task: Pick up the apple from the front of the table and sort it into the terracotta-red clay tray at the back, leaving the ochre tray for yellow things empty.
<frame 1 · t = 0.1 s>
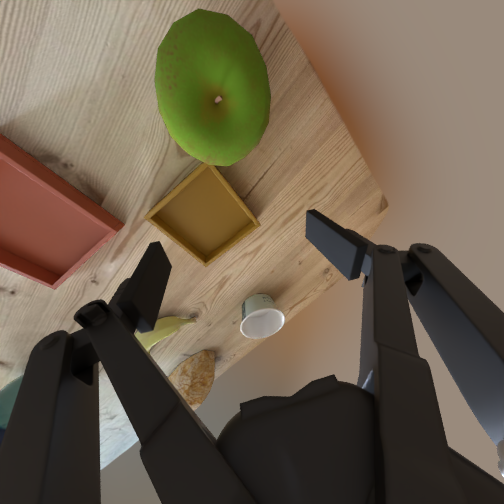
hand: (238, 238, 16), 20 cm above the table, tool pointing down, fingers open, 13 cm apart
food container: (257, 304, 52), on the table
apple: (214, 112, 27), on the table
banana: (164, 330, 49), on the table
ochre tray: (207, 215, 35), on the table
vase: (48, 376, 49), on the table
clay tray: (38, 219, 29), on the table
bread: (183, 377, 64), on the table
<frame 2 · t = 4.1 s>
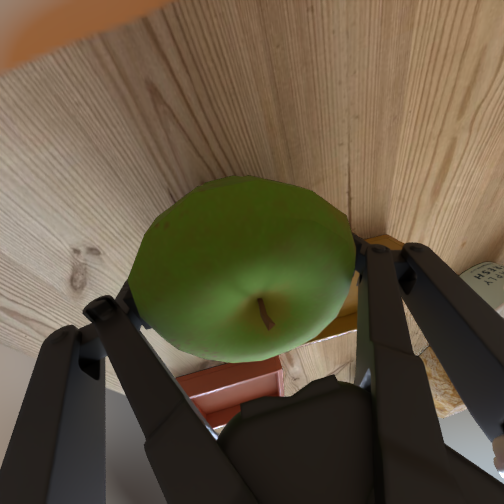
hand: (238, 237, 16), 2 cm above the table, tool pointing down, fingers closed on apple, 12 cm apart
food container: (467, 281, 33), on the table
apple: (236, 228, 18), on the table, touching gripper
ochre tray: (326, 289, 25), on the table
clay tray: (235, 384, 35), on the table
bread: (424, 367, 56), on the table
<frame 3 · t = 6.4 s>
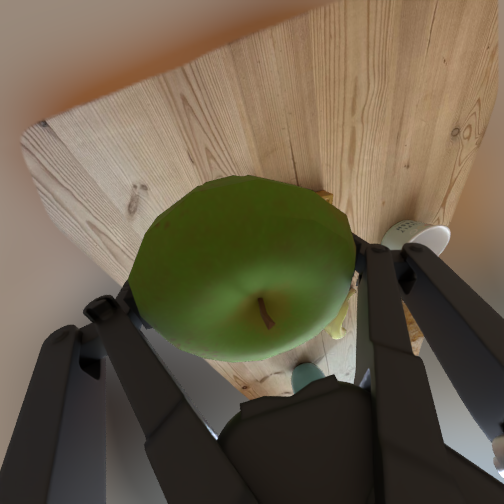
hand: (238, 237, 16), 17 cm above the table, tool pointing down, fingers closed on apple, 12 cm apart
food container: (397, 236, 45), on the table
apple: (236, 228, 18), point 16 cm above the table, touching gripper
banana: (338, 309, 57), on the table
vase: (302, 367, 74), on the table
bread: (385, 324, 68), on the table
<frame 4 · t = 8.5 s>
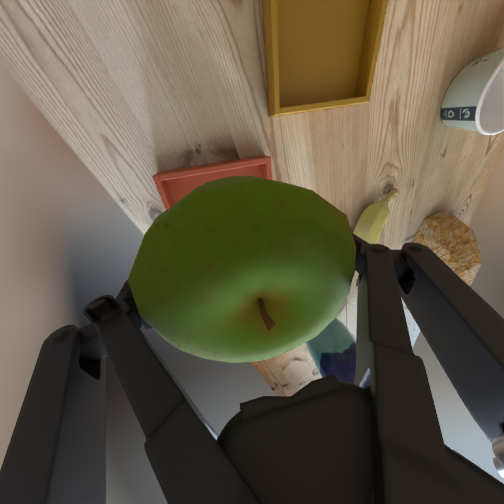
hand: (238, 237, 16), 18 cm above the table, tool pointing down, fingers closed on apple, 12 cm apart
food container: (464, 95, 31), on the table
apple: (236, 228, 18), point 17 cm above the table, touching gripper
banana: (369, 230, 44), on the table
ochre tray: (316, 43, 24), on the table
vase: (317, 322, 61), on the table
clay tray: (224, 214, 34), on the table
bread: (421, 263, 55), on the table
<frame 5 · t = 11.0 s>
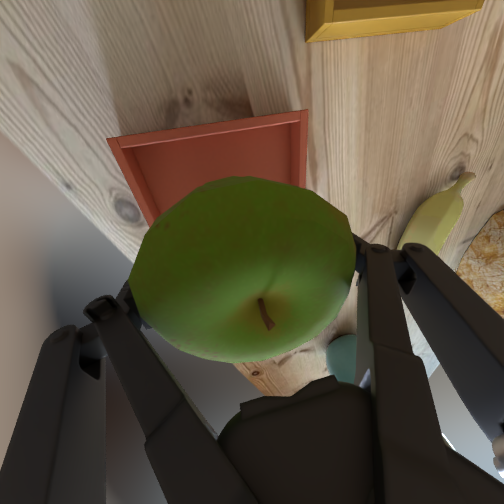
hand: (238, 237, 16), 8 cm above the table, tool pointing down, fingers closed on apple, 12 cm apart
apple: (236, 228, 18), point 6 cm above the table, touching gripper
banana: (421, 230, 33), on the table
vase: (340, 342, 50), on the table
clay tray: (229, 208, 23), on the table
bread: (473, 271, 44), on the table
when the fingers open (2 cm above the table, at t = 13.2 s): apple stays where it is, resting on clay tray.
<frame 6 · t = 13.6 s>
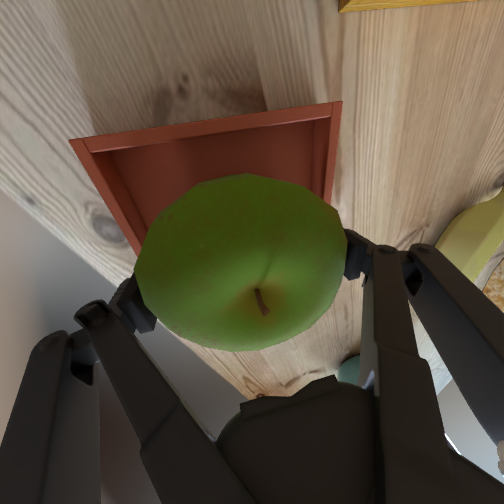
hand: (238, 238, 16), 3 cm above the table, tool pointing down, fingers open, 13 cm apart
apple: (235, 225, 18), point 1 cm above the table, touching clay tray
banana: (452, 244, 29), on the table
vase: (353, 361, 46), on the table
clay tray: (234, 224, 19), on the table
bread: (501, 286, 40), on the table
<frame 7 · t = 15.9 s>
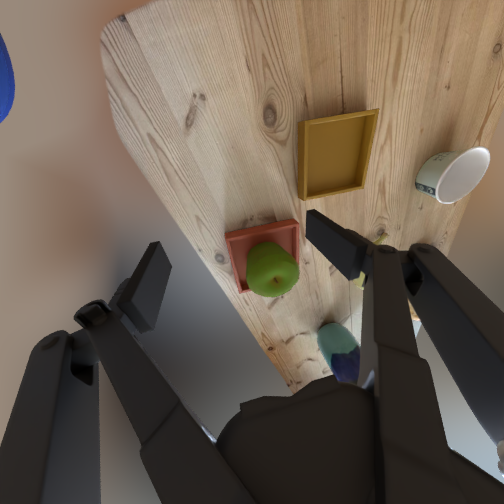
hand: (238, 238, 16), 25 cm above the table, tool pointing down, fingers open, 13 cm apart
food container: (431, 173, 45), on the table
apple: (264, 255, 48), point 1 cm above the table, touching clay tray
banana: (367, 259, 57), on the table
ochre tray: (329, 157, 38), on the table
vase: (327, 328, 74), on the table
clay tray: (263, 254, 48), on the table
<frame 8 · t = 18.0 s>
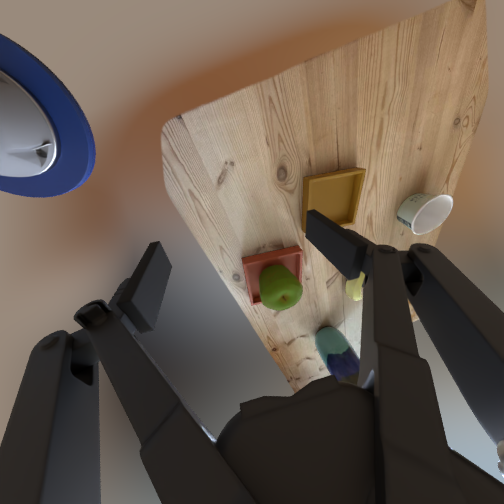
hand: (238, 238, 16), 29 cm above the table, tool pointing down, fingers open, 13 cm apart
food container: (410, 208, 55), on the table
apple: (272, 274, 57), point 1 cm above the table, touching clay tray
banana: (358, 275, 68), on the table
ochre tray: (327, 200, 48), on the table
vase: (324, 331, 85), on the table
clay tray: (272, 273, 58), on the table
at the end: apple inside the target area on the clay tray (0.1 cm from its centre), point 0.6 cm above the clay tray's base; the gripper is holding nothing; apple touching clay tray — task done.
